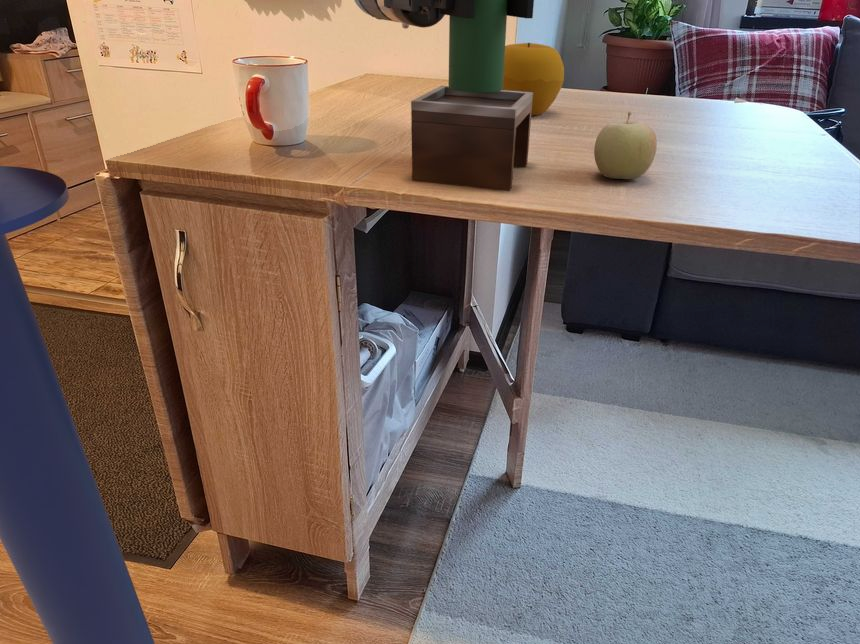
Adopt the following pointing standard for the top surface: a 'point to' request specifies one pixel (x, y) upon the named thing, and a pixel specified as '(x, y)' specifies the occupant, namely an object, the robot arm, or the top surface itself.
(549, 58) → the apple
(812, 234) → the top surface
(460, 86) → the bottle
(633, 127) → the fruit
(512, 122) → the brown wooden box
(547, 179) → the top surface
